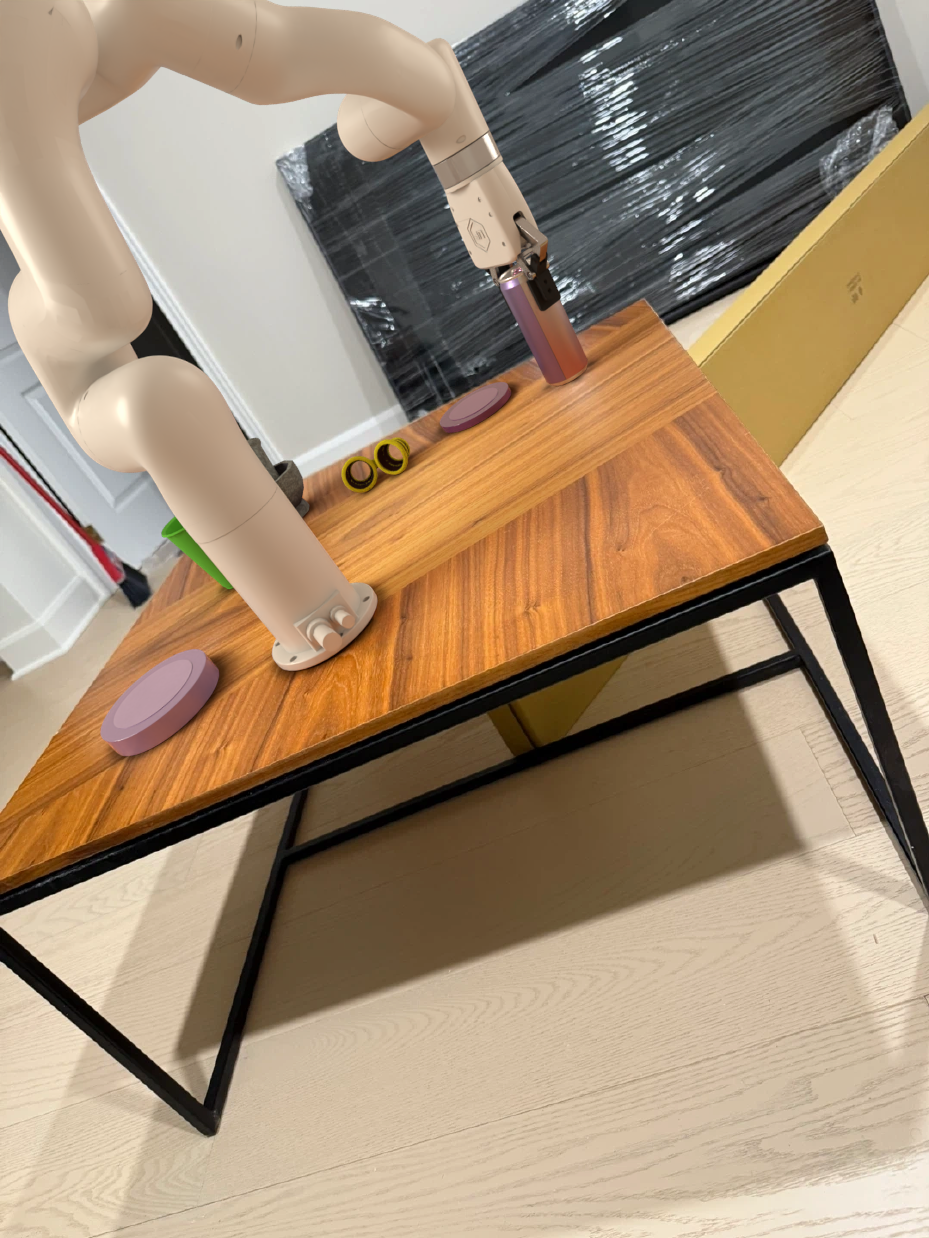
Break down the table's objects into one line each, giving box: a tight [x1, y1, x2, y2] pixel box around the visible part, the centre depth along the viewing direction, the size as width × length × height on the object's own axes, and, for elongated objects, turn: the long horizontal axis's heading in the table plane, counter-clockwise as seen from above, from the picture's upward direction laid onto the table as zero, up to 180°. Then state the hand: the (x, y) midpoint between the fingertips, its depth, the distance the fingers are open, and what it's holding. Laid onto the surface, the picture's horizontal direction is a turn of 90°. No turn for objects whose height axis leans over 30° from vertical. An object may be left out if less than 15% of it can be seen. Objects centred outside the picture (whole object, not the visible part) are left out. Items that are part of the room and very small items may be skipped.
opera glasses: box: [341, 436, 411, 494], centre depth 115 cm, size 10×5×5 cm, turn 92°
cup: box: [160, 515, 234, 590], centre depth 112 cm, size 9×9×11 cm
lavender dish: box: [99, 648, 220, 757], centre depth 93 cm, size 14×14×2 cm
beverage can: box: [498, 257, 589, 387], centre depth 106 cm, size 6×6×15 cm
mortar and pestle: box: [246, 437, 310, 518], centre depth 121 cm, size 11×9×12 cm
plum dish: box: [439, 381, 512, 434], centre depth 118 cm, size 11×11×1 cm
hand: (535, 305), depth 105 cm, fingers closed on beverage can, 6 cm apart
